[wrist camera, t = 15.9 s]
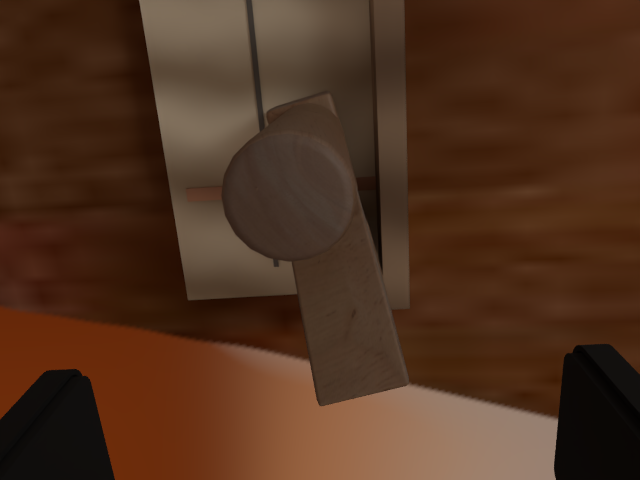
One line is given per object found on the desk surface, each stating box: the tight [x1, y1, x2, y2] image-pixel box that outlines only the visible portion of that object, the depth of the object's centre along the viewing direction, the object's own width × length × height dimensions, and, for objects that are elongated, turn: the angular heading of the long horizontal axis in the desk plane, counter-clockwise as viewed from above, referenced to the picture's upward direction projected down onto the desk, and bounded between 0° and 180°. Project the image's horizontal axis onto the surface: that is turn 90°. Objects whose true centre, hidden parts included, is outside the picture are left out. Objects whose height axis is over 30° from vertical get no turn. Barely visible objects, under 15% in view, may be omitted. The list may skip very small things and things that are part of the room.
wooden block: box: [221, 91, 409, 406], centre depth 23 cm, size 4×11×18 cm, turn 17°
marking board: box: [139, 0, 410, 310], centre depth 29 cm, size 28×14×5 cm, turn 4°
